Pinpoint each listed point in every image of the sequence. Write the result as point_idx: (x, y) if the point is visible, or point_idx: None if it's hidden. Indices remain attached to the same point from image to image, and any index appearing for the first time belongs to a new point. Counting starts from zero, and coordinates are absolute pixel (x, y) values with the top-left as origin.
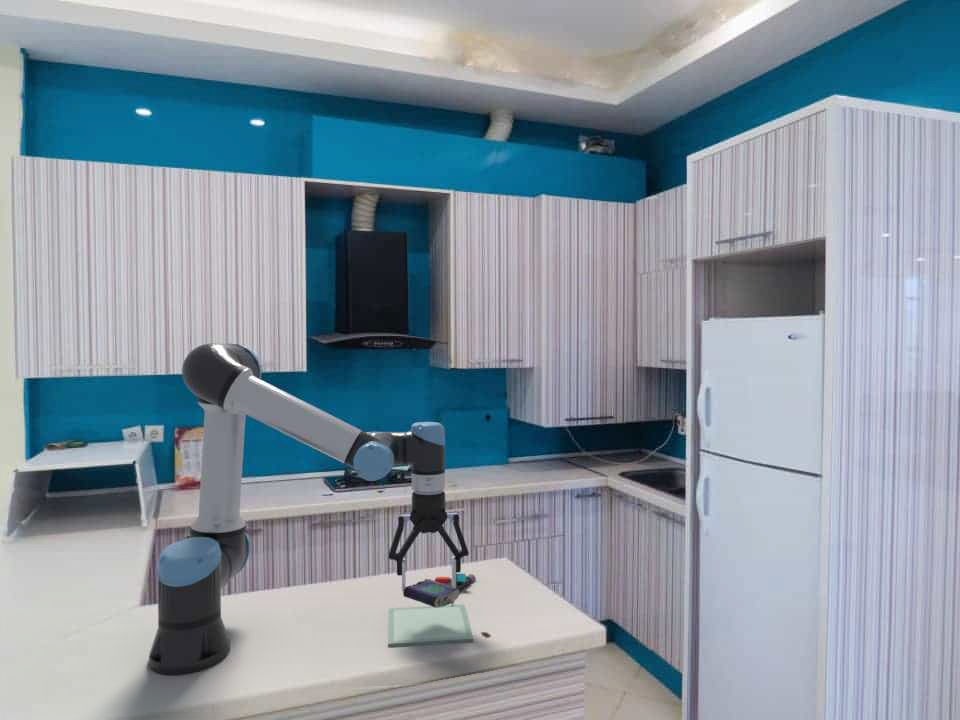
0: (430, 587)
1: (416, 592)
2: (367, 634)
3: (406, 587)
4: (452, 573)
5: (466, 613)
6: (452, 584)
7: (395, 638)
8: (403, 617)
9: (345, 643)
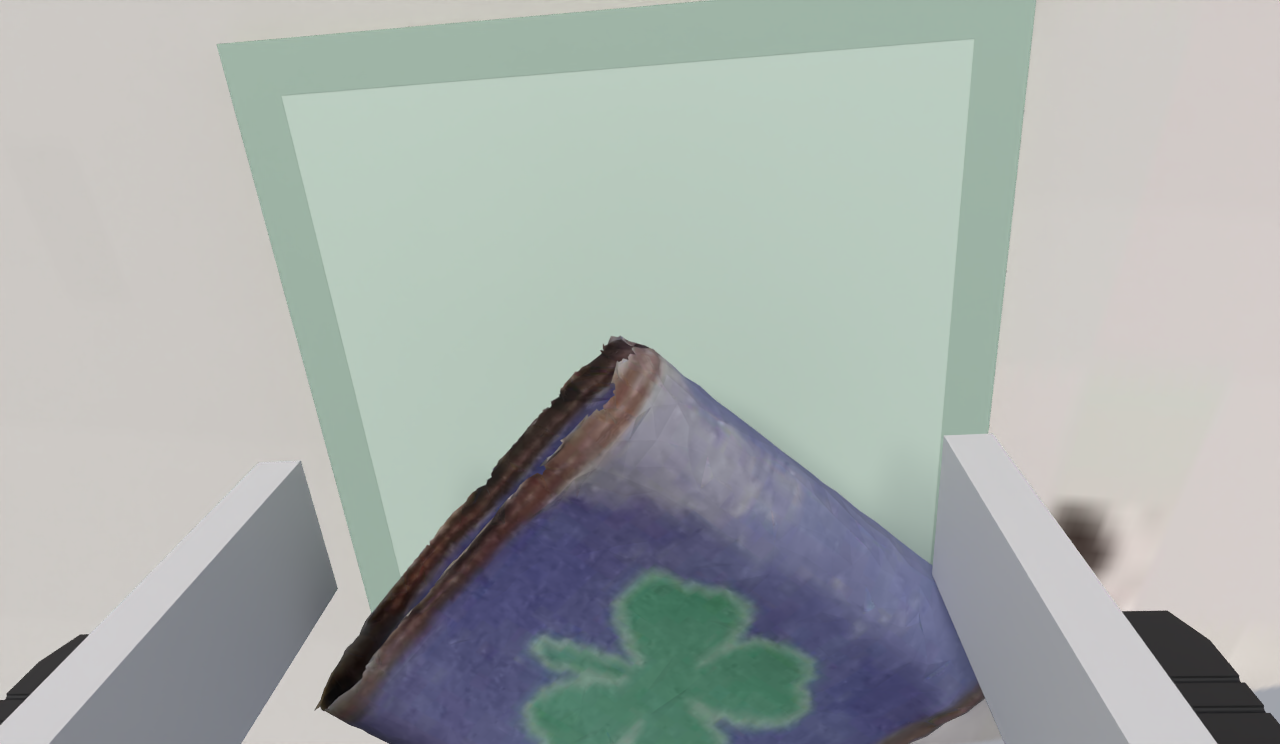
0: (639, 637)
1: None
2: (200, 478)
3: (335, 714)
4: (1003, 717)
5: (1010, 219)
6: (947, 581)
7: None
8: (408, 268)
9: (103, 581)
